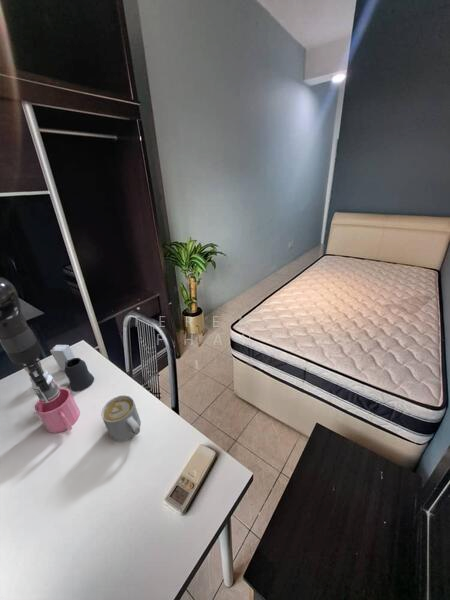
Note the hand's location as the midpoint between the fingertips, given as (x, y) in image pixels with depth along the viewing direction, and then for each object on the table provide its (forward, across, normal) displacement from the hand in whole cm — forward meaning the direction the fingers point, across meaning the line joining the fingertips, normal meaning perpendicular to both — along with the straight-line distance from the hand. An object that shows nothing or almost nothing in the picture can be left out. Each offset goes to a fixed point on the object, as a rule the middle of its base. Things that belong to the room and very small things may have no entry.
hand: (44, 384), depth 80 cm
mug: (+17, -15, +10) cm, 25 cm away
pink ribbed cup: (+17, +2, 0) cm, 17 cm away
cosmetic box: (+17, -27, +9) cm, 34 cm away
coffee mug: (+17, +21, +14) cm, 31 cm away
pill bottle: (+6, 0, 0) cm, 6 cm away
